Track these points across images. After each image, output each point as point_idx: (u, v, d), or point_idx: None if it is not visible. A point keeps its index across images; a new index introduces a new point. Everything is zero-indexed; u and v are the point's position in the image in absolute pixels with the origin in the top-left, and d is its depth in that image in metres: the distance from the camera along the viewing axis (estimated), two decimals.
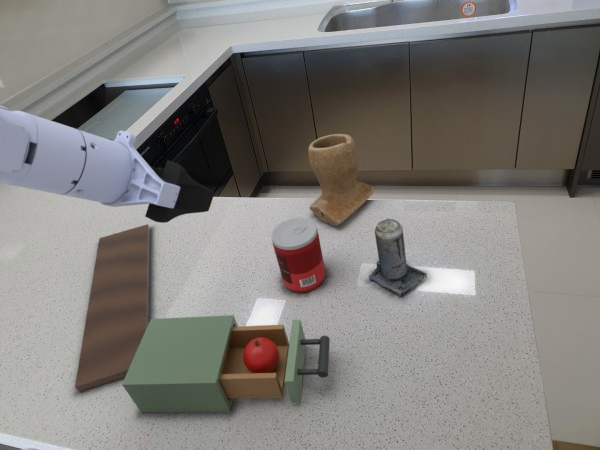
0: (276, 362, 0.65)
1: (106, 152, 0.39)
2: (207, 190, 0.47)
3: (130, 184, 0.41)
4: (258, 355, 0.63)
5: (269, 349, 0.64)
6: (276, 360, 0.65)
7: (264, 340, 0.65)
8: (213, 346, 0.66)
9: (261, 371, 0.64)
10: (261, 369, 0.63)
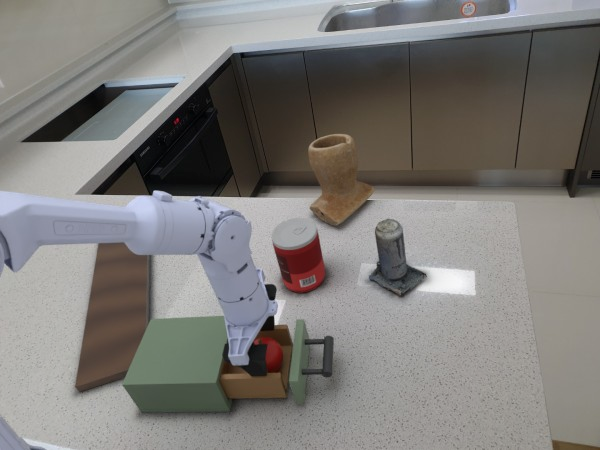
0: (280, 362, 0.65)
1: (251, 307, 0.56)
2: (264, 372, 0.61)
3: (240, 327, 0.57)
4: None
5: (273, 348, 0.64)
6: (280, 360, 0.64)
7: (268, 340, 0.65)
8: (213, 346, 0.66)
9: None
10: None
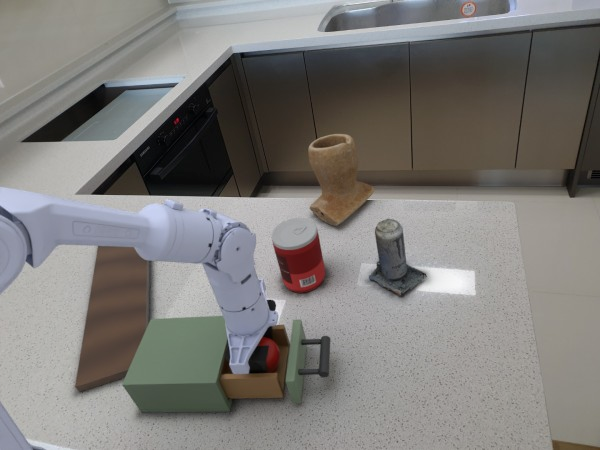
0: (277, 362, 0.65)
1: (253, 317, 0.57)
2: None
3: (241, 336, 0.59)
4: None
5: (270, 348, 0.64)
6: (277, 360, 0.65)
7: (265, 340, 0.65)
8: (213, 346, 0.66)
9: None
10: None
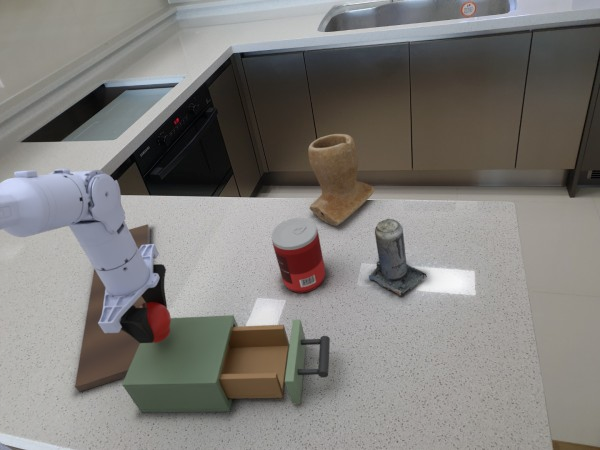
0: (165, 326, 0.65)
1: (126, 277, 0.57)
2: (149, 338, 0.63)
3: (117, 297, 0.58)
4: None
5: (157, 312, 0.64)
6: (165, 324, 0.64)
7: (154, 304, 0.65)
8: (213, 346, 0.66)
9: None
10: None
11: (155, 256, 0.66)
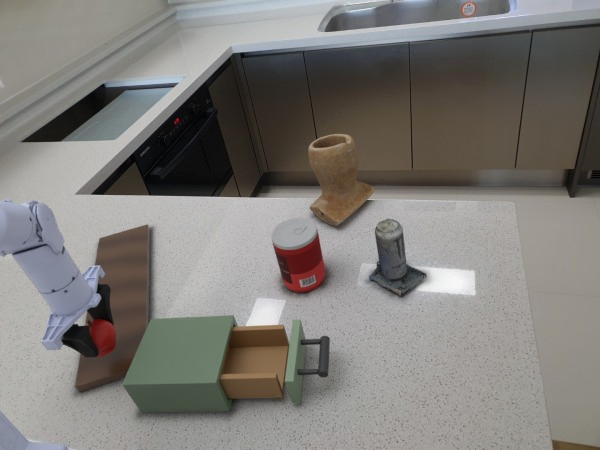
0: (109, 341, 0.70)
1: (67, 298, 0.63)
2: (93, 352, 0.68)
3: (60, 316, 0.64)
4: None
5: (101, 329, 0.70)
6: (109, 340, 0.70)
7: (99, 321, 0.70)
8: (213, 346, 0.66)
9: None
10: None
11: (101, 276, 0.72)
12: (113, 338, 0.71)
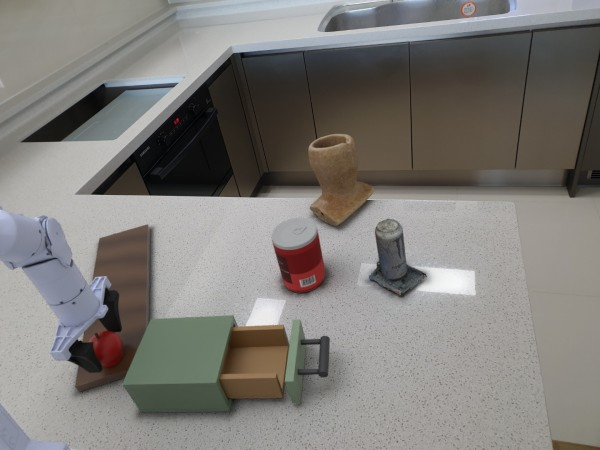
0: (116, 353, 0.72)
1: (75, 310, 0.64)
2: (97, 368, 0.69)
3: (68, 327, 0.65)
4: (97, 346, 0.70)
5: (108, 341, 0.71)
6: (116, 351, 0.72)
7: (106, 333, 0.72)
8: (213, 346, 0.66)
9: (100, 361, 0.71)
10: (100, 359, 0.71)
11: (107, 287, 0.73)
12: (120, 349, 0.73)
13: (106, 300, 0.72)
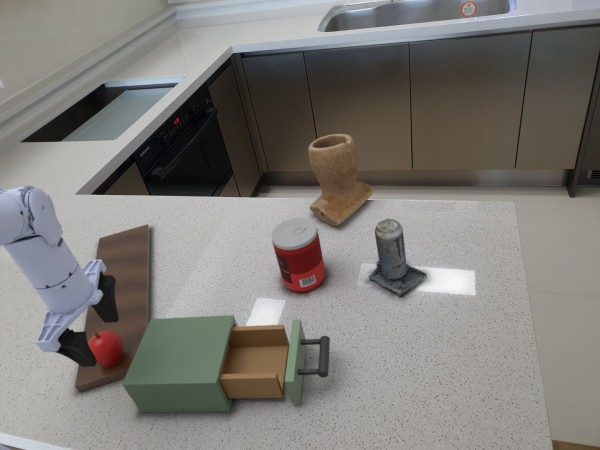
0: (116, 353, 0.72)
1: (66, 294, 0.57)
2: (91, 361, 0.61)
3: (57, 315, 0.58)
4: (97, 346, 0.70)
5: (108, 341, 0.71)
6: (116, 351, 0.72)
7: (106, 333, 0.72)
8: (213, 346, 0.66)
9: (100, 361, 0.71)
10: (100, 359, 0.71)
11: (102, 271, 0.66)
12: (120, 349, 0.73)
13: (101, 286, 0.64)
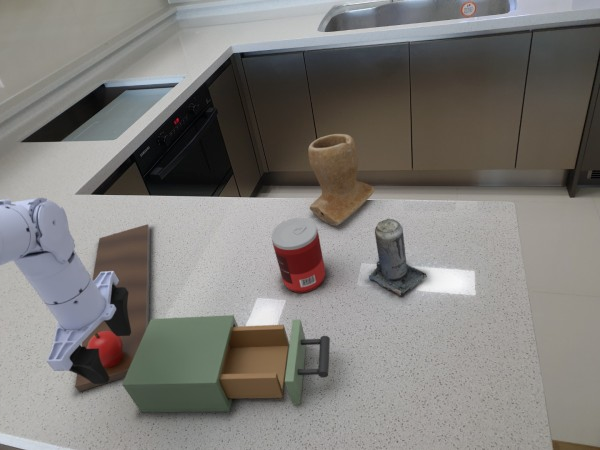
0: (116, 353, 0.72)
1: (78, 310, 0.54)
2: (103, 379, 0.59)
3: (69, 331, 0.55)
4: (97, 346, 0.70)
5: (108, 341, 0.71)
6: (116, 351, 0.72)
7: (106, 333, 0.72)
8: (213, 346, 0.66)
9: None
10: (100, 359, 0.71)
11: (115, 283, 0.63)
12: (120, 349, 0.73)
13: (113, 299, 0.61)
